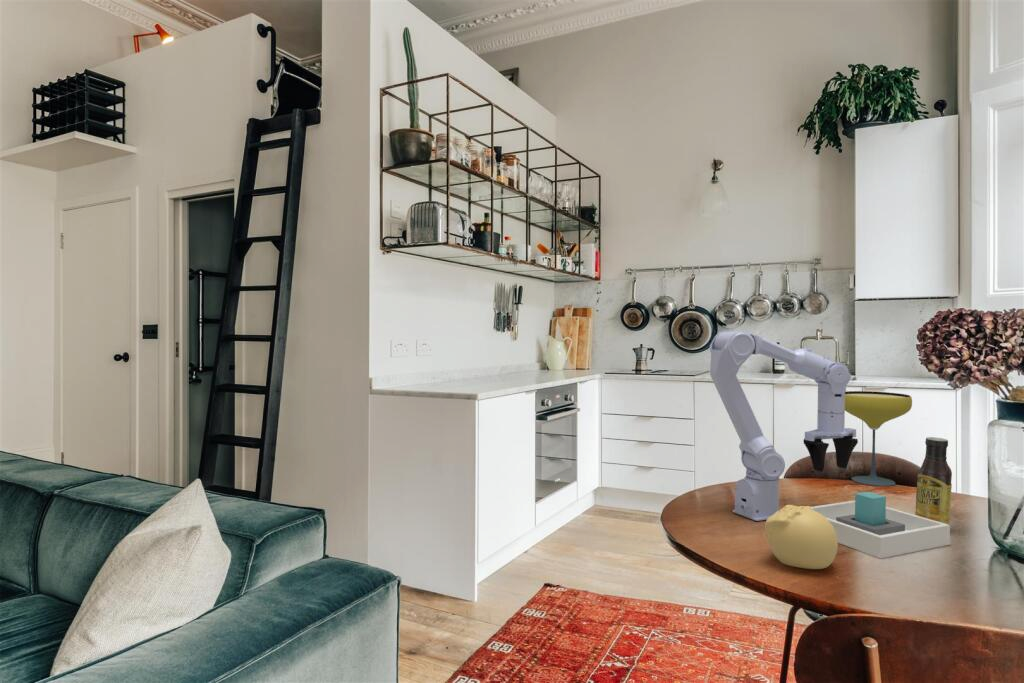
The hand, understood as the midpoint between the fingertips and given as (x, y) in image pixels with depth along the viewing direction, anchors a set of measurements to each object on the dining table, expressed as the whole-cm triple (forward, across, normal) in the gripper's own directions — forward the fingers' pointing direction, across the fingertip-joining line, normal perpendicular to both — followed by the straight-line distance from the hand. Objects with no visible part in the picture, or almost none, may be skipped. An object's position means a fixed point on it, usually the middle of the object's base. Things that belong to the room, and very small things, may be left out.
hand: (830, 469), depth 146 cm
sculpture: (+11, -32, -21) cm, 40 cm away
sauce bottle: (+11, +11, -17) cm, 23 cm away
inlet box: (+10, -6, -15) cm, 19 cm away
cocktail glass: (+11, +37, +17) cm, 42 cm away
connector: (+10, -6, -15) cm, 19 cm away
